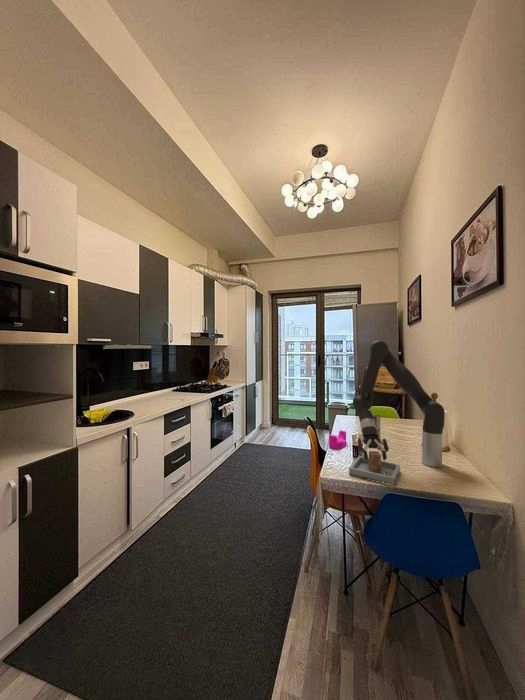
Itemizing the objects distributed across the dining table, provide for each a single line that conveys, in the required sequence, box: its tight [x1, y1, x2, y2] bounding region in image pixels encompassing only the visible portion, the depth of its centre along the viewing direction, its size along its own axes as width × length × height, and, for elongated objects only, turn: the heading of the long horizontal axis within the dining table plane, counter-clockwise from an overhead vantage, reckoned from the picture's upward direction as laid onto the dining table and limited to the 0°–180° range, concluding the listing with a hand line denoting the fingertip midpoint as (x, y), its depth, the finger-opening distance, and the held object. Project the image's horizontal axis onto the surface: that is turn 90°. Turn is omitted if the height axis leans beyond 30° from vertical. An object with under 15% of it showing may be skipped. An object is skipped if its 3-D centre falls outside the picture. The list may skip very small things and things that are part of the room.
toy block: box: [328, 429, 347, 451], centre depth 182 cm, size 15×6×8 cm, turn 137°
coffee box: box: [372, 413, 381, 440], centre depth 196 cm, size 9×6×16 cm
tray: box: [348, 455, 401, 486], centre depth 143 cm, size 20×18×4 cm
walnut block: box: [368, 450, 382, 473], centre depth 143 cm, size 4×4×9 cm
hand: (375, 459), depth 141 cm, fingers open, 8 cm apart
